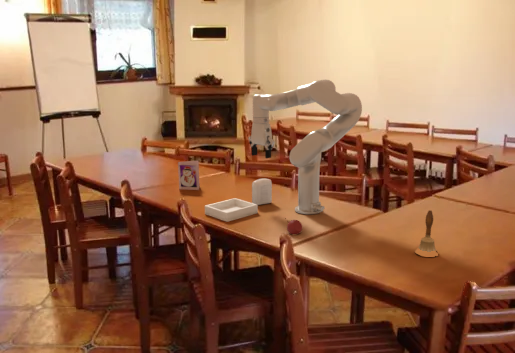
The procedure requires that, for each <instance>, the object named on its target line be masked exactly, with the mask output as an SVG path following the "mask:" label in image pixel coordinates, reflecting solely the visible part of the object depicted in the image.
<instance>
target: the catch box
mask: <svg viewBox="0 0 515 353" xmlns="http://www.w3.org/2000/svg"><path fill="white" fill-rule="evenodd" d="M258 207H259V205H257V204H254V203H252V202H250V201H247V200H243V199H240V198H236V197H234V198H230V199H226V200H222V201H218V202H215V203H210V204H206V205H204V215H207V216H210V217H213V218H214V219H218V220H221V221H224V222H230V221H231V222H232V221H234V220H238V219H242V218H245V217H249V216H252V215H255V214H258Z"/></svg>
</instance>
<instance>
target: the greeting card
mask: <svg viewBox="0 0 515 353" xmlns="http://www.w3.org/2000/svg"><path fill="white" fill-rule="evenodd" d="M199 164H200V163H199V160H187V161H178V162H177V168H178V169H177V173H178V189H179V190H186V191H187V190H188V191H190V190H191V191H193V190H194V191H200V184H201V183H200V165H199Z"/></svg>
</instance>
